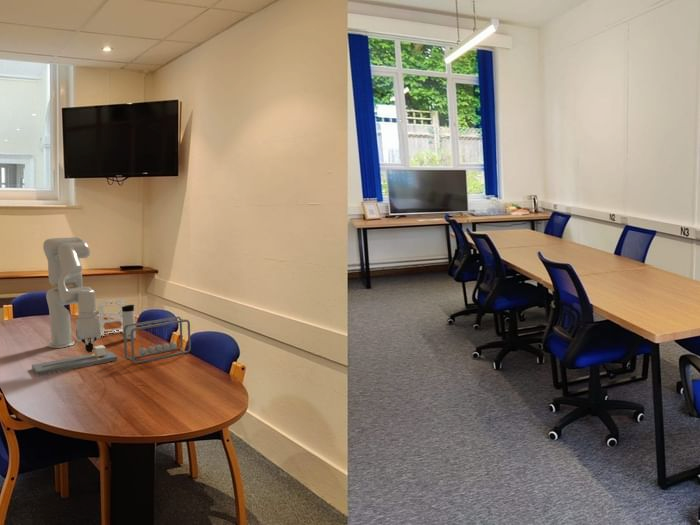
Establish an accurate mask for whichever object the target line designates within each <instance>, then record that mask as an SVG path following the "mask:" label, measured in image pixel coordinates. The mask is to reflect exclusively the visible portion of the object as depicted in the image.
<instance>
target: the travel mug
mask: <svg viewBox="0 0 700 525" xmlns="http://www.w3.org/2000/svg"><path fill="white" fill-rule="evenodd" d="M122 317H123V329H124V327H125V326H126V325H129V324H135V323H136V322H135V320H136V319H135V304H128V305H125V306H124V307H122ZM131 327H133V328H136V326H131ZM131 327H127V328H126V342H127V341H128V340H129V341H131V330H132V329H133V328H131ZM122 335H123V337H124V333H123V332H122ZM136 336H137V335H136V330H135V331H134V332H133V341H135V339H136Z"/></svg>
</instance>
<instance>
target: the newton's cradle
mask: <svg viewBox="0 0 700 525" xmlns="http://www.w3.org/2000/svg"><path fill="white" fill-rule="evenodd" d="M173 320H174V321H173ZM167 321H168V322H167ZM185 322H186V323H187V337H188V338H187V342H188V348H187V350H184V349H182V348H183V345H184V342H183V341H184V340H183V323H185ZM175 324H179V338H180V340H179V341H180V346H178V344H177V342H176V341H174V337H175V335H174V334H175V330H173V332H172V330H170V332H171V335H172V338H171V339H172V340H171V342H169V343H168V342H167V341H164V343H163V344H160V343H157V344H156V345H154V346H152V343H149V346H148V347H147V348H145V347H144V346H141V348H139V349H138V355H135V346H134V345H135V342H134V341H135V340H133V332H134V331H135V332H136V331H138V330H139V331H140V332H142V330H145V329H147V330H148V332H151V334H150V335H148V336H149V338H148V339H149V340H152V335H153V334H152V333H153V328H157V327H163V330H166V333H163V335H164V338H166V336H167V332H168V331H167V330H168V325H170V327H172V325H175ZM131 326H135V328H133V327H131ZM164 326H166V329H165V328H164ZM127 327H131V328H133V329H132V330H131V340H130V345H131V346H130V347H131V356H130V357H129V356H128V345H127V341H126V328H127ZM149 329H151V331H150V330H149ZM157 332H158V331H157V330H156V332H155V333H156V334H158V333H157ZM123 333H124V336H123V347H124V357H125V359H126V360H131V362H132V364H135V365H138V364H142V363H148V362H152V361H157V360H161V359H166V358H169V357H170V358H171V357H175V356H179V355H184V354H188V353H190V352H191V350H192V349H191V348H192V347H191V346H192V342H191V323H190V321H189V319H183V318H181V316H173V317H166V318H159V319H155V320H147V321H141V322H135V324H129V325H126V326H125V327H124V329H123V332H122V334H123ZM144 337H145V333H144V332H143V335H142V337H140V340H141V341H140V342H141V343H143V339H144ZM156 340H157V342H159V338H156ZM177 346H178V347H177ZM178 350H180V352H175V353H171V354H167V355H162V356H161V355H160V356H156V357H152V358H148V359H142V360H138V361H136V360H135V359H140V358H144V356H145V357H149V356H153V355H159V354H164V353H169V352H173V351H178ZM139 357H140V358H139Z"/></svg>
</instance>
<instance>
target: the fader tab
mask: <svg viewBox="0 0 700 525" xmlns="http://www.w3.org/2000/svg"><path fill="white" fill-rule="evenodd" d="M106 349H107V348H106V346H104V345H103V344H101V345H100V344H99V345H95V346H94V345H93V354H94V355H96V356H97V357H98V356H104V355H106V351H107V350H106Z"/></svg>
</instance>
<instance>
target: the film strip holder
mask: <svg viewBox="0 0 700 525" xmlns="http://www.w3.org/2000/svg"><path fill="white" fill-rule="evenodd" d="M119 302H120V303H119ZM109 303H110V304H109ZM113 303H114V304H113ZM107 306H108V307H109V306H119V307H120V309H119V311H115V312H114V311H113V312H106V313H105V312H104V310H103V309H104V307H107ZM124 306H126V305H125V302H124V299H114V300H106V301H105V300H104V301H98V305H97V311H99V315H97V317H98V320H99V325H100V333H101V334H100V336H102V337H103V336H105V335H104V334H106V335H110V334H109V333H114V334H121V333H120V332H122V333H123V317H122V307H124ZM117 315H120V317H119V318H117ZM111 316H113V318H111ZM105 317H107V319H105ZM113 322H115V323H117V322H120V324H121V326H120V327H119V328H118V327H117V328H110V329H109V328H108V329H106V328H105V327H104V325H106V323H113ZM116 330H119V331H116ZM104 331H112V332H108V333H104ZM114 331H115V332H114Z"/></svg>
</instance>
